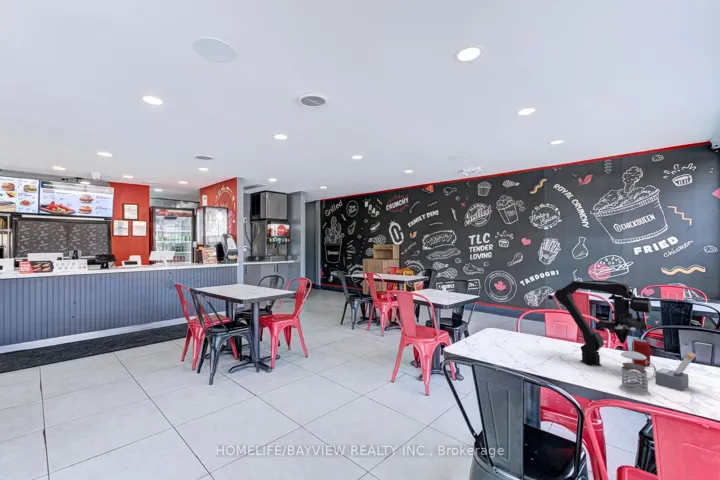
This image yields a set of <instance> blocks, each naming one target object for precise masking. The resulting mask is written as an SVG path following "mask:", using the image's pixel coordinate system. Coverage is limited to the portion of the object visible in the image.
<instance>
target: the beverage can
mask: <svg viewBox="0 0 720 480" xmlns="http://www.w3.org/2000/svg"><path fill="white" fill-rule="evenodd" d="M631 351H633V340H632V341H631ZM634 351H635V352H638V353H640V354H643V355H644V356H646V357H647V359H646V360H647V361H646V360H635V359H634V364H639V365H641V366H644V367H648V366H650V365H651V364H650V363H649V362H651V345H650V342H649V340H646V339H642V338H634ZM631 360H632V362H633V359H631ZM645 361H646V362H647V365H646V364H645ZM648 361H649V362H648Z"/></svg>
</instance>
